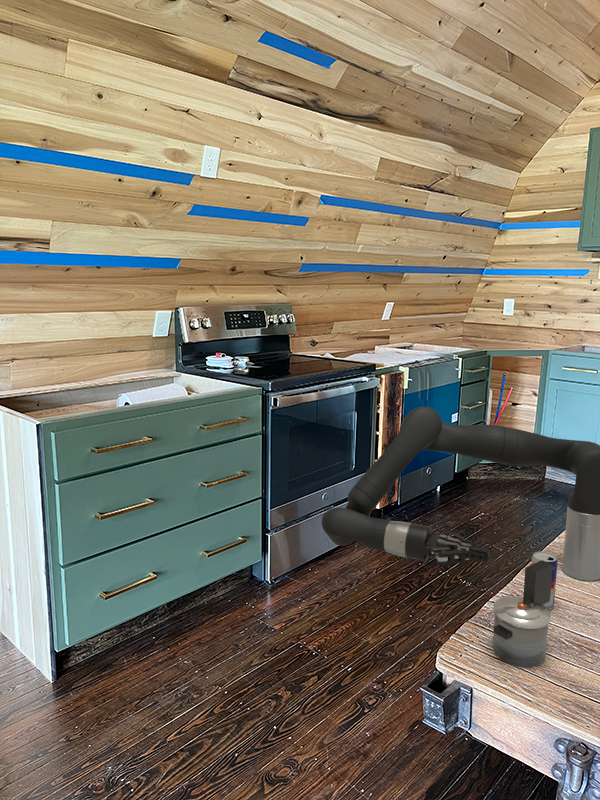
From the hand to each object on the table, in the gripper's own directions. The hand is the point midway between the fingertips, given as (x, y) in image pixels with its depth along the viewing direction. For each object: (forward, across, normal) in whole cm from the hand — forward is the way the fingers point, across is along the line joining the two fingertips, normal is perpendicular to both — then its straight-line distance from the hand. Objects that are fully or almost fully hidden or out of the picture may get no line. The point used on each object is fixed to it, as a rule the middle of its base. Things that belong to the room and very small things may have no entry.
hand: (488, 555), depth 126 cm
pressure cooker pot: (+8, -6, +16) cm, 19 cm away
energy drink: (+10, +14, +16) cm, 24 cm away
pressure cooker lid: (+8, -5, +8) cm, 13 cm away
